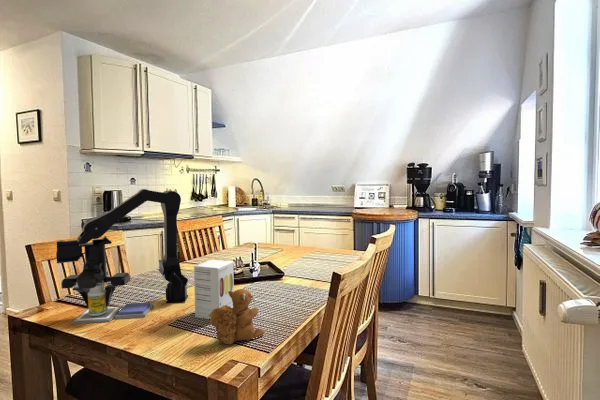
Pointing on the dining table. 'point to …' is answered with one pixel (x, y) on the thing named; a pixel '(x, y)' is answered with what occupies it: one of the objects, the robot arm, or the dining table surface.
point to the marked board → (101, 318)
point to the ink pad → (134, 310)
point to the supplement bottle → (97, 300)
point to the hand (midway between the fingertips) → (98, 306)
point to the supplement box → (212, 286)
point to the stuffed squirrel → (235, 319)
